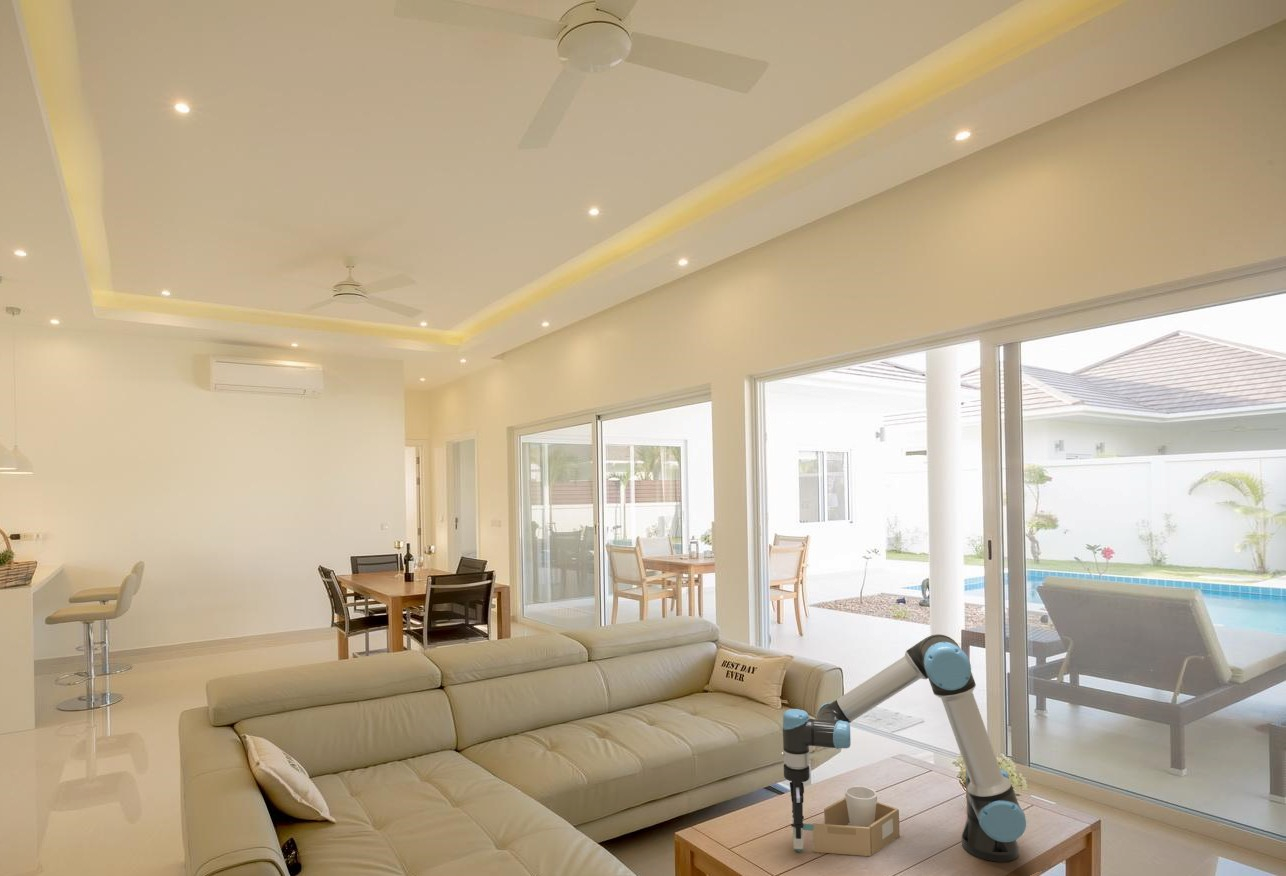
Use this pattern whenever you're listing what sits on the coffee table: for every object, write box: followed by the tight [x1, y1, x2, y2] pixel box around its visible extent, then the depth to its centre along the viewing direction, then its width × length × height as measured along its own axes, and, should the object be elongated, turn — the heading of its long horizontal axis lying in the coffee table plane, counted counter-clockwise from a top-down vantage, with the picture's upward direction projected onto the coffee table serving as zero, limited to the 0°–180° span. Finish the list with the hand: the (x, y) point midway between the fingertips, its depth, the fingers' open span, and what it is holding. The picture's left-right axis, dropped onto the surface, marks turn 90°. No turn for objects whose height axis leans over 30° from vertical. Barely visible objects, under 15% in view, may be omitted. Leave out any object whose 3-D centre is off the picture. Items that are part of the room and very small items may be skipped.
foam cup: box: [844, 785, 878, 827], centre depth 223 cm, size 10×9×13 cm
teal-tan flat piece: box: [792, 811, 872, 857], centre depth 213 cm, size 22×2×11 cm, turn 80°
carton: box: [823, 797, 901, 856], centre depth 223 cm, size 16×16×8 cm
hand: (798, 845), depth 214 cm, fingers closed on teal-tan flat piece, 2 cm apart
